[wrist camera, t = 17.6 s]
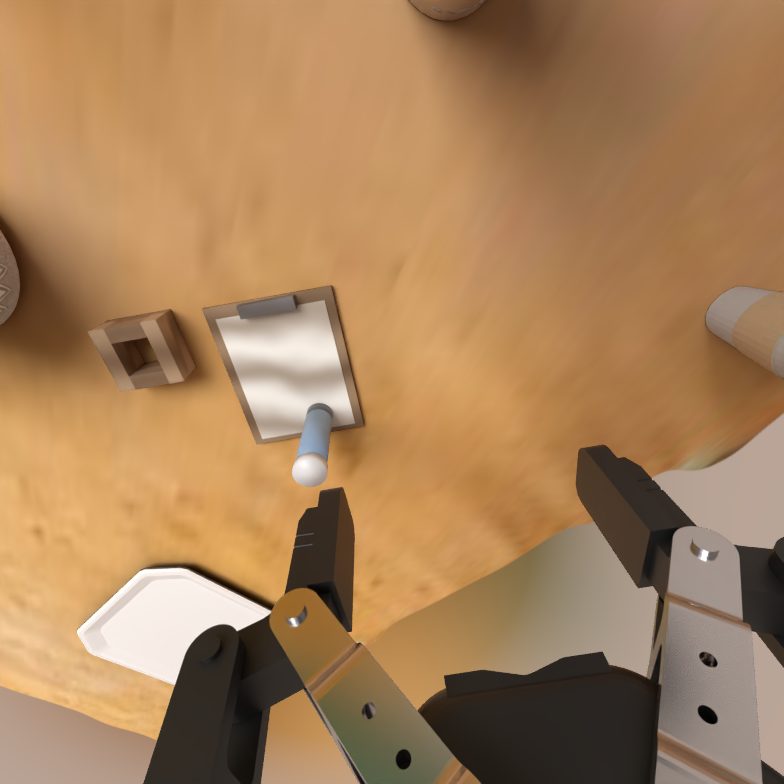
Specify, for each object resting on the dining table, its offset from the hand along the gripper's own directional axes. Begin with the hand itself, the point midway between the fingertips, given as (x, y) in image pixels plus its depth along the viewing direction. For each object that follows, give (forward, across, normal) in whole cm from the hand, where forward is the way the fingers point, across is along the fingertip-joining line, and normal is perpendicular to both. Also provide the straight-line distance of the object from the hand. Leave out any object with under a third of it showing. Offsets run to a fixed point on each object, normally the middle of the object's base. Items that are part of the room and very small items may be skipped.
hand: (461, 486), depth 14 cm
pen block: (+33, +28, +3) cm, 43 cm away
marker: (+32, +12, +15) cm, 38 cm away
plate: (+34, +44, +53) cm, 77 cm away
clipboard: (+33, +14, +9) cm, 37 cm away
